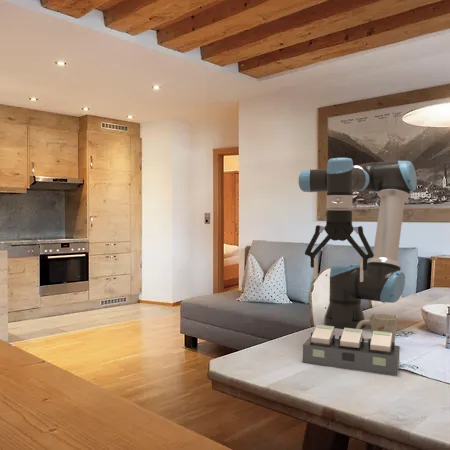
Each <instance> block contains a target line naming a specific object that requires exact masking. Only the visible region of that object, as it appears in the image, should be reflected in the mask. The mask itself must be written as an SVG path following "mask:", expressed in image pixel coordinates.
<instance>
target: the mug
mask: <svg viewBox="0 0 450 450" xmlns="http://www.w3.org/2000/svg"><path fill="white" fill-rule="evenodd" d="M398 322H399V317H398V316H397V315H394V314H389V313H381V312H380V313H378V312H377V313H371V314H370V315H369V319H365V320H362V321H360V322H359V323H358V325H357V327H356V329H362V328H361V326H362V325H363V324H365V325H370V328H371V329H370V330H371V336H372V335H373V331H379V332H389V333H392V342H396V341H395V340H396V335H397V328H398ZM362 338H364V342H368V340H369V339H372V337H371V338H367V337H364V336H363V335H362ZM362 338H361V340H362ZM392 342H391V345H392Z"/></svg>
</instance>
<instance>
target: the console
mask: <svg viewBox="0 0 450 450" xmlns="http://www.w3.org/2000/svg"><path fill="white" fill-rule="evenodd" d="M313 333H314V331H313V332H310V336H309V338H308V339H307V340H305V342H304V343H303V344H302V363H305V364H312V365H318V366H319V365H320V366H327V367H334V368H341V369H346V370H347V369H348V370H354V371H361V372H367V373H368V372H369V373H375V374H381V375H388V376H389V375H390V376H395V377H397V376H398V374H399V373H398V372H399V368H398V367H400V352H401V351H400V350H401V349H400V348H401V345H396V344H395V342H396V341H394V342H392V345H391V349H390V352H386V351H378V350H370V344H371V339H372V338H371V339H369V340H368V341H364V338H365V337H364V338H362V339H361V342H360V346H359V348H354V347H346V346H340V340H341V337H342V335H338V338H337V337H336V334H333V336H332V338H331V341H330V344H322V343H314V342H311V337H312V335H313Z"/></svg>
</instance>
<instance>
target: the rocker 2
mask: <svg viewBox="0 0 450 450" xmlns="http://www.w3.org/2000/svg"><path fill="white" fill-rule="evenodd" d="M341 336H342V337H341V340H340V346H346V347H354V348H359V346H360V342H361V341H362V339H361V338H362V336H363V329H362V328H360V329H352V328H343V332H342V335H341Z"/></svg>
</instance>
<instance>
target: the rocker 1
mask: <svg viewBox="0 0 450 450" xmlns="http://www.w3.org/2000/svg"><path fill="white" fill-rule="evenodd" d="M334 333H335V327H334V326H328V325H325V324H324V325H323V324H317V325H316V327H315V329H314V331H313V335H312V337H311V336H310V337H311V342H314V343H322V344H330V341H331V338H332V336H333V335H334Z"/></svg>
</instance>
